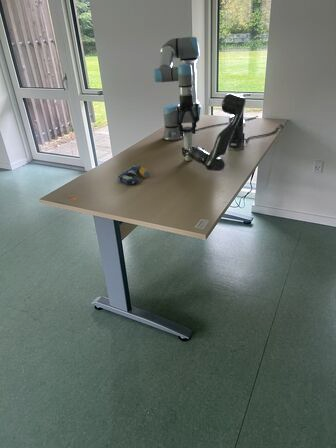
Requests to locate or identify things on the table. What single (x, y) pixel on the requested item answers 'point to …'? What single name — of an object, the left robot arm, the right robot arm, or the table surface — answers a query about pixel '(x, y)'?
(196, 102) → the left robot arm
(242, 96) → the right robot arm
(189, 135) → the bottle
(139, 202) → the table surface
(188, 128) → the lid
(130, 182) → the spray gun
